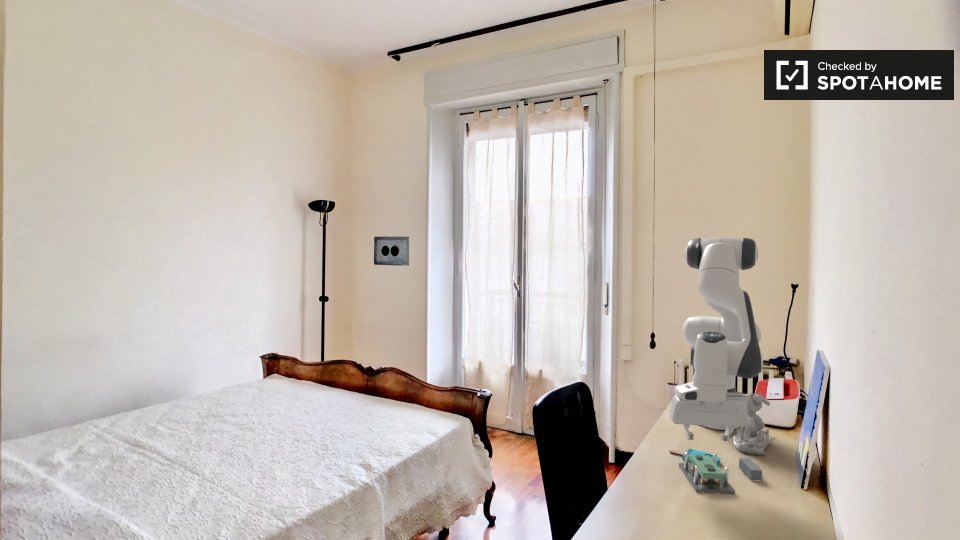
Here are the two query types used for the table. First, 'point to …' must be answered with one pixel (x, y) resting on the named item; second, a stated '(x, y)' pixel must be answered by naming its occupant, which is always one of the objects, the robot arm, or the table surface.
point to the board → (706, 466)
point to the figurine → (753, 428)
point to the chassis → (703, 483)
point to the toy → (694, 452)
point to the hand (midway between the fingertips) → (707, 439)
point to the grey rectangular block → (750, 469)
